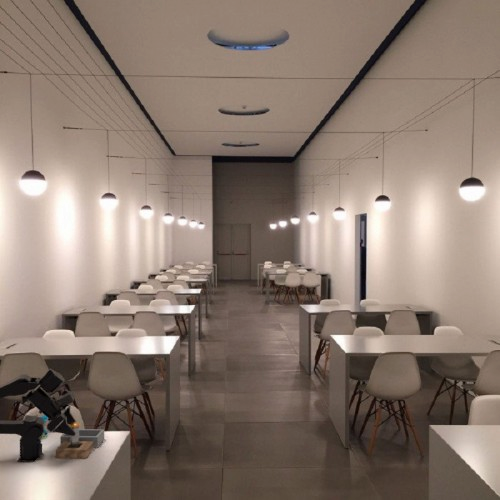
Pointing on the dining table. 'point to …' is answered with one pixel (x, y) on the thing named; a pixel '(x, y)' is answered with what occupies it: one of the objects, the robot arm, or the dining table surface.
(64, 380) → the robot arm
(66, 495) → the dining table surface
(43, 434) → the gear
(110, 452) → the dining table surface
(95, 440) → the tray
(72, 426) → the stop pin
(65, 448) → the wooden socket block
